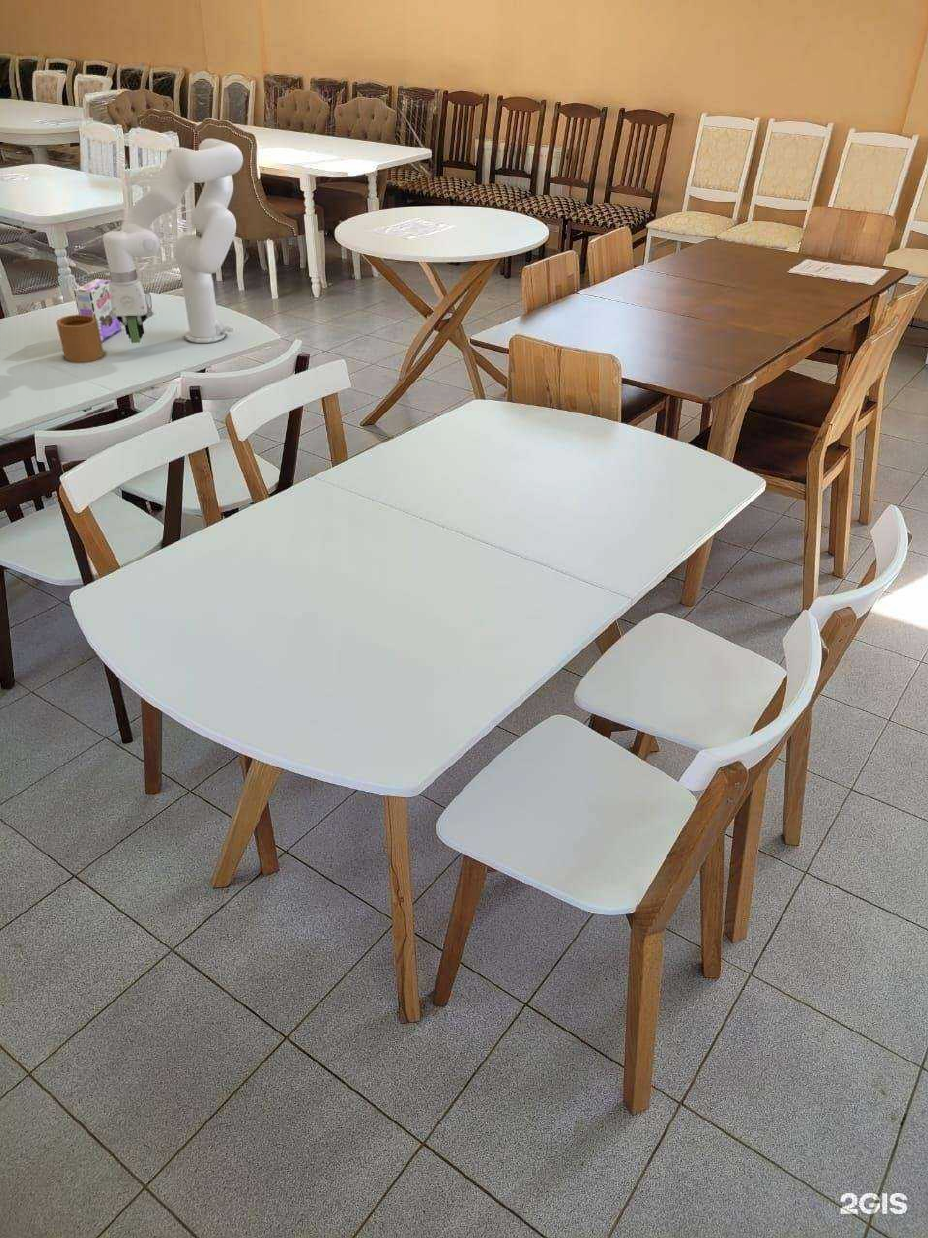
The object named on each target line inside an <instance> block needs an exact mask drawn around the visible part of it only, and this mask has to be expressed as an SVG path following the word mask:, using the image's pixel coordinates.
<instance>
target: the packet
mask: <svg viewBox="0 0 928 1238" xmlns="http://www.w3.org/2000/svg"><path fill="white" fill-rule="evenodd" d="M126 319H127V323H128V328H129V333H130V337H131V338H130V343H131V344H140V343H141V340H142V338H140V337H139V332H138V327H137V325H138V320H137V316H127V317H126Z"/></svg>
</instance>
